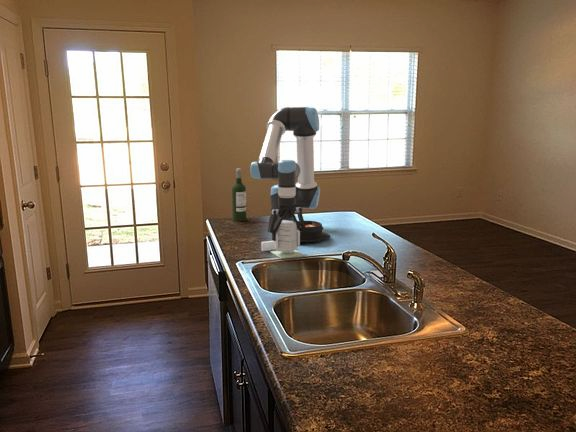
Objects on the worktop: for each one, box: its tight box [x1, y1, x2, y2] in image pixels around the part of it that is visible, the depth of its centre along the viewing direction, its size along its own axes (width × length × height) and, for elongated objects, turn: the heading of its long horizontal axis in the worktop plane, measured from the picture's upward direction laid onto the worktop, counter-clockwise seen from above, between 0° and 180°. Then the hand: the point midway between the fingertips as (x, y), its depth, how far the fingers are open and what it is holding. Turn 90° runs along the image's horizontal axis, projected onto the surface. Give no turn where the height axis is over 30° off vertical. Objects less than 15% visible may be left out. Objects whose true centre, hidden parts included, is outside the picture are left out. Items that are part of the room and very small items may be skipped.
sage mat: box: [269, 249, 304, 260], centre depth 212 cm, size 11×11×1 cm
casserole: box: [297, 220, 332, 244], centre depth 235 cm, size 25×19×8 cm
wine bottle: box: [231, 167, 247, 222], centre depth 277 cm, size 8×8×30 cm
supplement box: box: [275, 220, 298, 253], centre depth 211 cm, size 7×7×13 cm
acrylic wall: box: [260, 240, 276, 252], centre depth 220 cm, size 16×1×4 cm, turn 116°
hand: (286, 246), depth 212 cm, fingers closed on supplement box, 10 cm apart
